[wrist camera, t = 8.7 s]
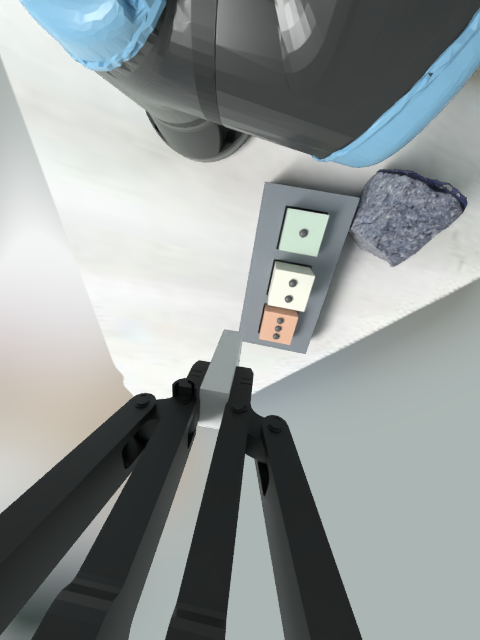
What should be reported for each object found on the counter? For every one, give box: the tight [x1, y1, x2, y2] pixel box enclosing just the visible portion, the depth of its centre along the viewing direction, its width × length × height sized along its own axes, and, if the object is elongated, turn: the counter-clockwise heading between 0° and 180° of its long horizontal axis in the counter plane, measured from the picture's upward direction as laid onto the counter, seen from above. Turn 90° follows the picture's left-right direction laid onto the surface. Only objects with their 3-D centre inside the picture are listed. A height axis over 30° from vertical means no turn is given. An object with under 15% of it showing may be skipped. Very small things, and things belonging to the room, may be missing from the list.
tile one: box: [278, 208, 329, 257], centre depth 31 cm, size 5×5×5 cm
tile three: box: [259, 303, 298, 345], centre depth 37 cm, size 5×5×5 cm
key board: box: [239, 182, 360, 354], centre depth 36 cm, size 24×12×4 cm, turn 171°
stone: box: [349, 169, 467, 267], centre depth 29 cm, size 12×10×10 cm
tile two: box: [268, 261, 315, 312], centre depth 32 cm, size 5×5×5 cm
